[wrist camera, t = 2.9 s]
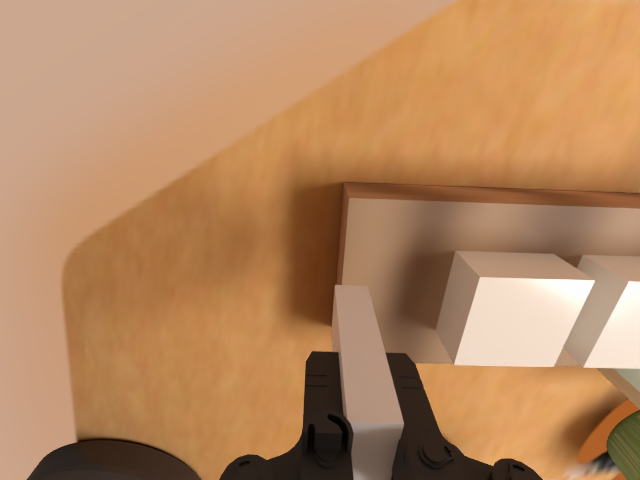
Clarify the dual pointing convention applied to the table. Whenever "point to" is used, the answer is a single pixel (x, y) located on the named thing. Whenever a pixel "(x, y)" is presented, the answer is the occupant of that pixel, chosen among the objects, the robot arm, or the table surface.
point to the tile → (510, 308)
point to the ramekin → (626, 446)
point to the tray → (625, 382)
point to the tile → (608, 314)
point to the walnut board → (463, 245)
